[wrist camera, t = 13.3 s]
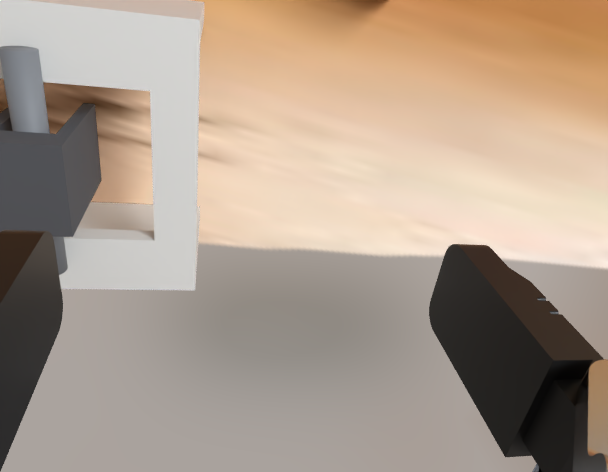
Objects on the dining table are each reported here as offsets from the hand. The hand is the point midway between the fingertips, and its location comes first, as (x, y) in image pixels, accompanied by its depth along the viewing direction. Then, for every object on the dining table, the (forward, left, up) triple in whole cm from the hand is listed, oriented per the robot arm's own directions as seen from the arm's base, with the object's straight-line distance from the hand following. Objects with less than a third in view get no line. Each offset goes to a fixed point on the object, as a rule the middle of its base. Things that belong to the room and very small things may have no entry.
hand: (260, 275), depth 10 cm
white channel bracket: (+8, -12, -36) cm, 39 cm away
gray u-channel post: (+8, -12, -29) cm, 32 cm away
